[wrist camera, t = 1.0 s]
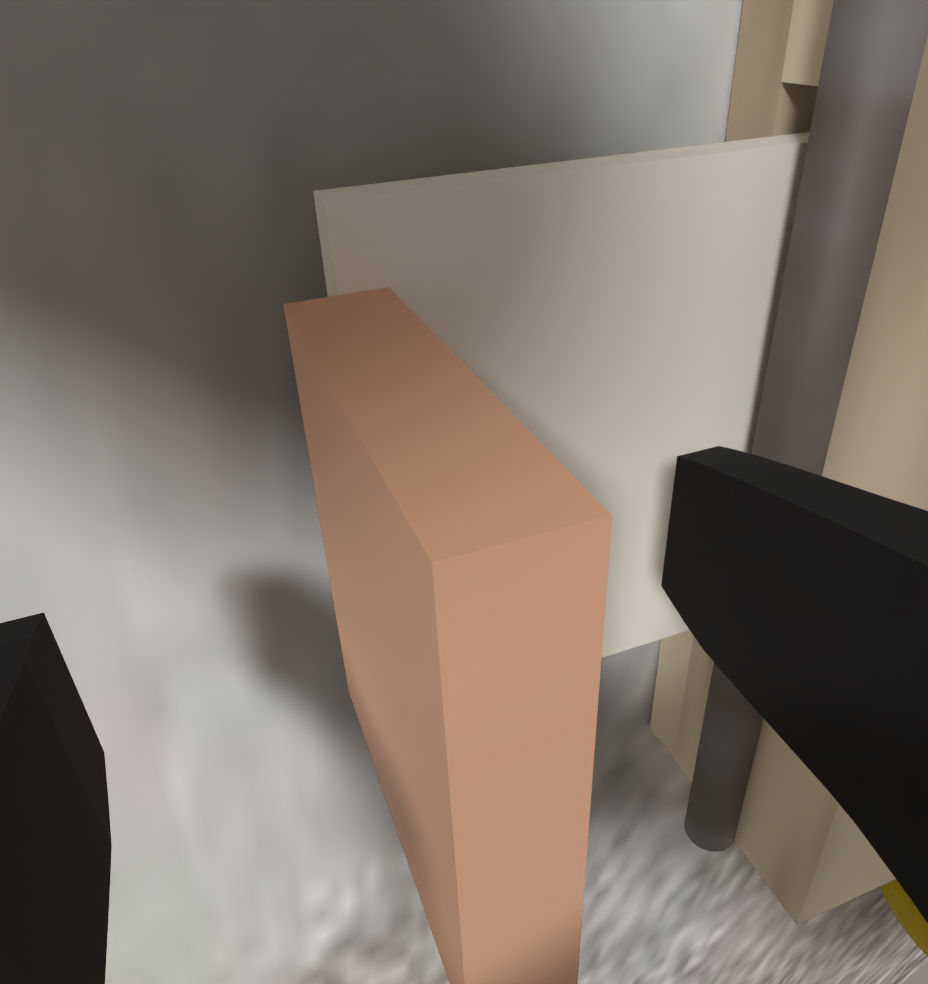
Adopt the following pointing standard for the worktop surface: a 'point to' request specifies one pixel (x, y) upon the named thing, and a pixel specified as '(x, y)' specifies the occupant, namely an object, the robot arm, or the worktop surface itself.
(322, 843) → the worktop surface
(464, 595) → the beige angled piece
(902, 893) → the lemon
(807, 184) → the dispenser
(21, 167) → the worktop surface
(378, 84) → the worktop surface
